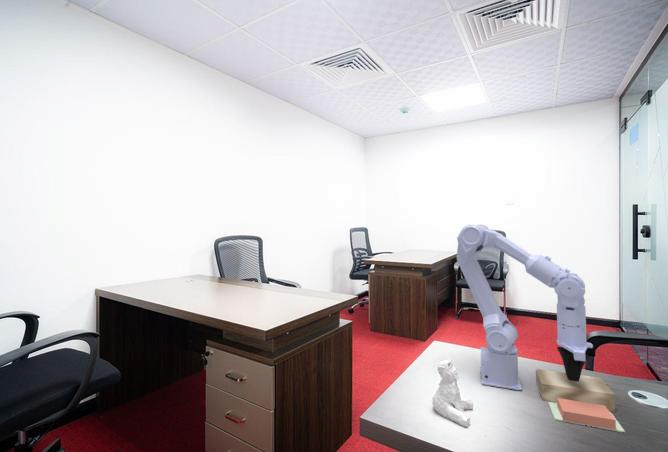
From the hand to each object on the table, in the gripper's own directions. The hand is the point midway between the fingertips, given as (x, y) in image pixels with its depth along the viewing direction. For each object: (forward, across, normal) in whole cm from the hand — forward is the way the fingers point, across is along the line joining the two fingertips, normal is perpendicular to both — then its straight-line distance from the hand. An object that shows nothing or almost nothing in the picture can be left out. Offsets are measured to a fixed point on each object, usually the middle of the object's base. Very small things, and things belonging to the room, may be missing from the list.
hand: (572, 379), depth 79 cm
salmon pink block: (+3, -8, 0) cm, 9 cm away
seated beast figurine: (+5, -17, +27) cm, 32 cm away
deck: (+5, +2, 0) cm, 5 cm away
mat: (+5, -8, 0) cm, 9 cm away
